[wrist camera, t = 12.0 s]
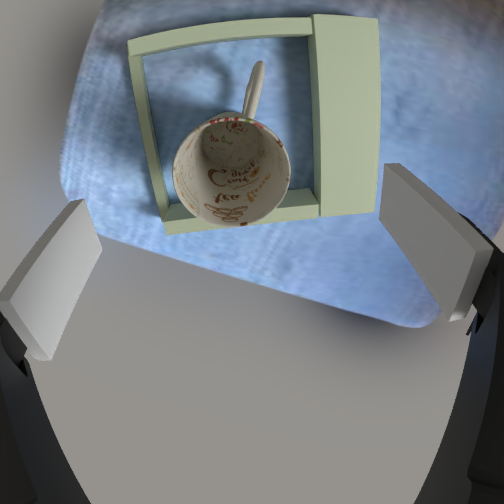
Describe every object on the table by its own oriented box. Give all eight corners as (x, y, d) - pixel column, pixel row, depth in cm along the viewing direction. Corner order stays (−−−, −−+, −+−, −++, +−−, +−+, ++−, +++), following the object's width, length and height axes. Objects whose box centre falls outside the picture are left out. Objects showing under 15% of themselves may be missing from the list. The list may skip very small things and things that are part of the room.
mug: (181, 171, 31) (164, 217, 23) (207, 50, 25) (197, 45, 16) (260, 186, 33) (272, 236, 25) (294, 71, 26) (324, 76, 18)
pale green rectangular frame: (129, 40, 23) (115, 38, 20) (364, 21, 23) (382, 18, 20) (165, 221, 34) (158, 240, 31) (364, 200, 34) (377, 216, 31)
